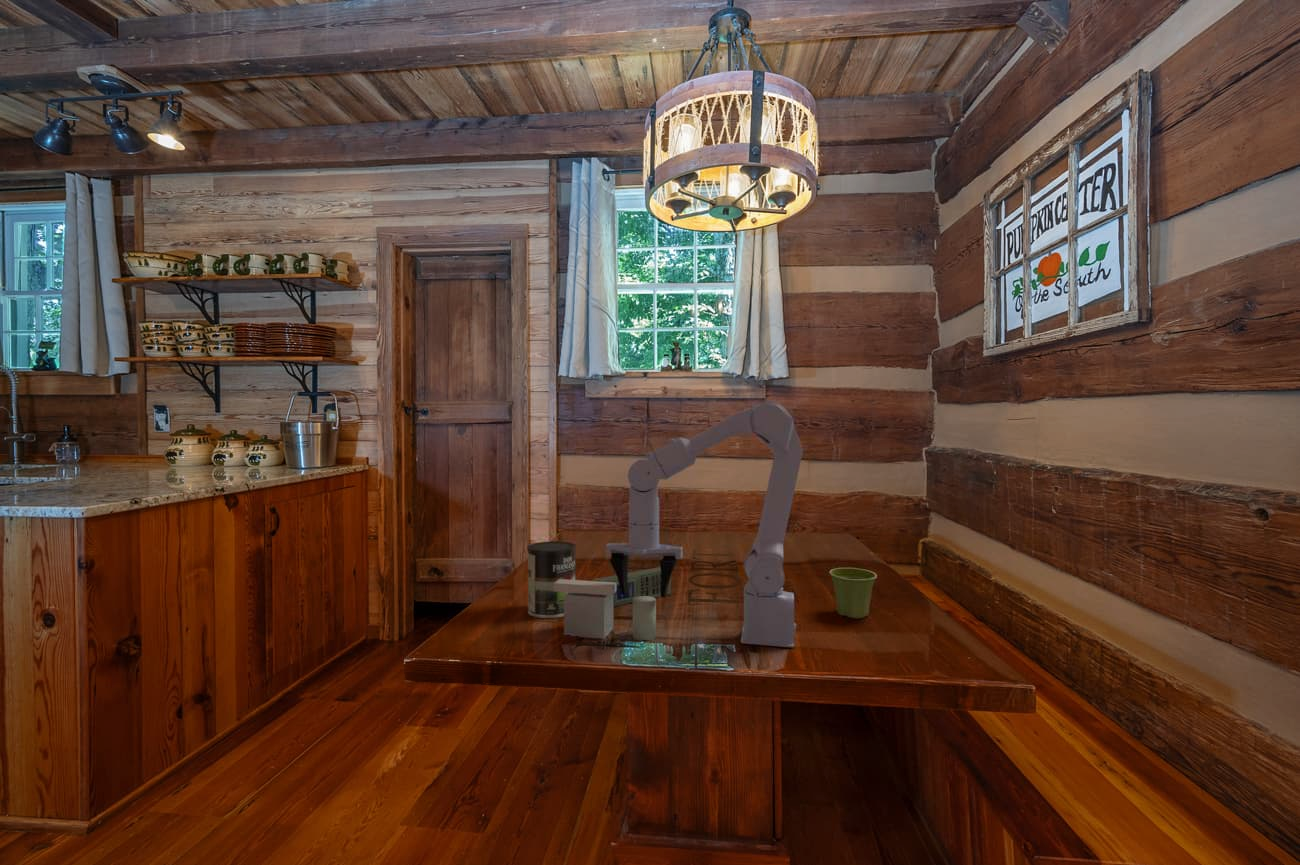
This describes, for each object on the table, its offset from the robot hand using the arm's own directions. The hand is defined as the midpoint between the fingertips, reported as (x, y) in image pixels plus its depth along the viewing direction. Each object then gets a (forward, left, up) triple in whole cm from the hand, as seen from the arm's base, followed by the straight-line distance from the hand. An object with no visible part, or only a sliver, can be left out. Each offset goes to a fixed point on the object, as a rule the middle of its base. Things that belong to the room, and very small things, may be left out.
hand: (644, 594), depth 106 cm
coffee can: (+23, -10, -8) cm, 26 cm away
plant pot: (-40, -22, -8) cm, 46 cm away
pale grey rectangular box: (+12, 0, 0) cm, 12 cm away
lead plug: (0, 0, -8) cm, 8 cm away
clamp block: (+11, 0, -8) cm, 14 cm away
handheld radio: (+9, -19, -8) cm, 23 cm away
